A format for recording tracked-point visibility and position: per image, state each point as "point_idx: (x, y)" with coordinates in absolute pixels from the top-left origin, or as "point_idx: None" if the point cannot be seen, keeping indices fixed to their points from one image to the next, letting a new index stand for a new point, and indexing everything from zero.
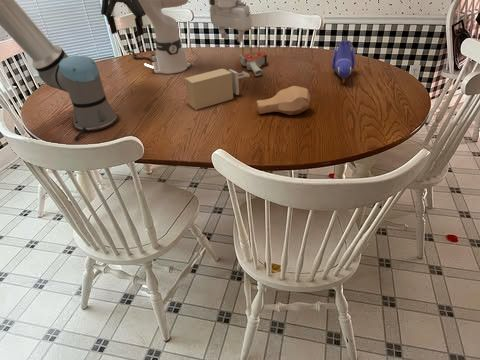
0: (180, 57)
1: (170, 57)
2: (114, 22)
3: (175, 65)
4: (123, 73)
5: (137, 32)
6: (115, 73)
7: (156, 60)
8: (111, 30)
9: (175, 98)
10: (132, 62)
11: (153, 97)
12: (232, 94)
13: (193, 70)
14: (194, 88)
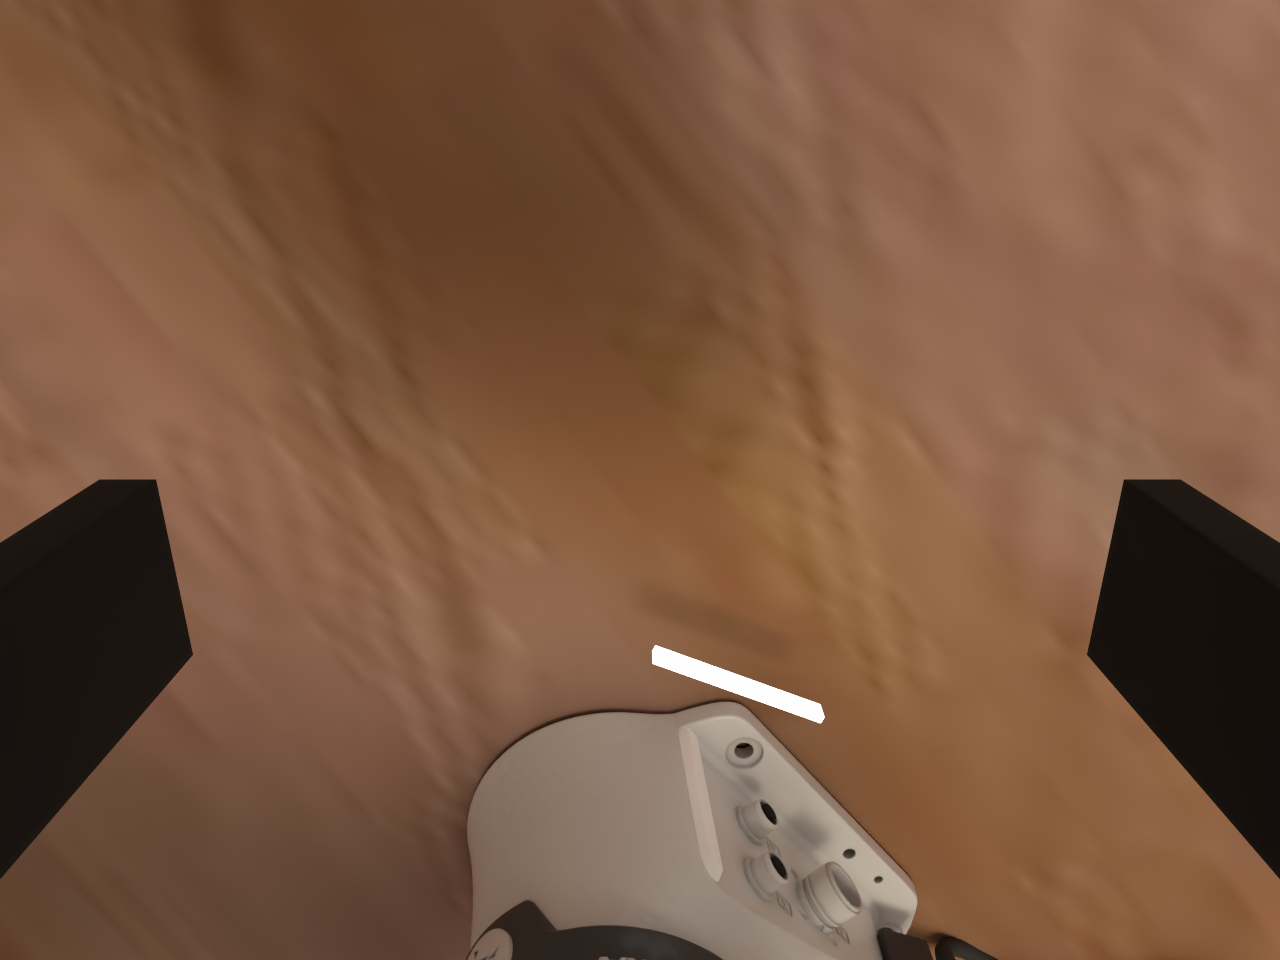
0: (471, 936)
1: (527, 875)
2: (1277, 843)
3: (502, 818)
4: None
5: (105, 520)
6: None
7: (803, 880)
8: (1216, 520)
9: (18, 147)
10: (1176, 886)
11: (282, 89)
12: None
13: (387, 852)
14: None
